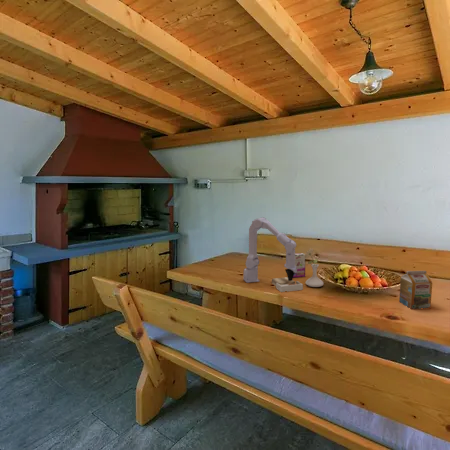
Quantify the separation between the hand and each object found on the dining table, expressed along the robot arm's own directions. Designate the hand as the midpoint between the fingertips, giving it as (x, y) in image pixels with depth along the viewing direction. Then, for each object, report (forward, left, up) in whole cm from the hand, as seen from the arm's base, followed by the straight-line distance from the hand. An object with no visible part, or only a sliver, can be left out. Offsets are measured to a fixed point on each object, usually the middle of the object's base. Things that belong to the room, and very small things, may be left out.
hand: (290, 280), depth 207 cm
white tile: (-6, -5, -1) cm, 8 cm away
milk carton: (+50, -48, -4) cm, 69 cm away
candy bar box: (+14, +18, -4) cm, 23 cm away
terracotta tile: (0, -5, -1) cm, 5 cm away
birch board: (-3, +5, -4) cm, 7 cm away
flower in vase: (+15, -3, -4) cm, 16 cm away
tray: (-3, -4, -4) cm, 7 cm away
